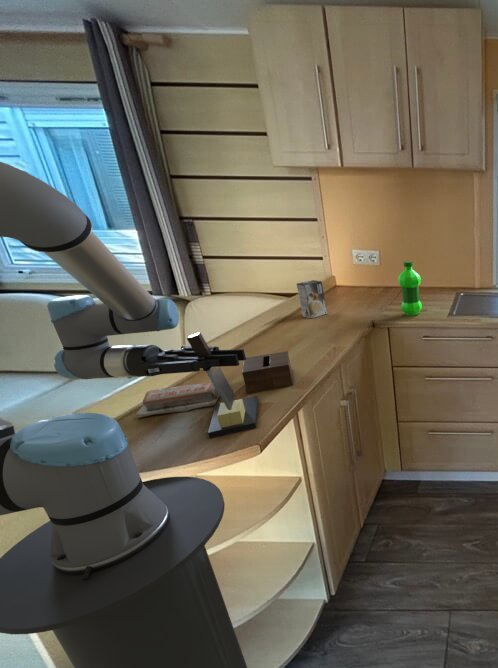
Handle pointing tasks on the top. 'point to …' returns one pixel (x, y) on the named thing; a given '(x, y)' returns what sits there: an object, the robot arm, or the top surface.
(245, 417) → the cutting board
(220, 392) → the knife
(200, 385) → the packaged product
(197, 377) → the top surface
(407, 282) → the plastic bottle
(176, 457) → the top surface
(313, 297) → the coffee box
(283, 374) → the knife block
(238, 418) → the butter right
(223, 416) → the butter left
